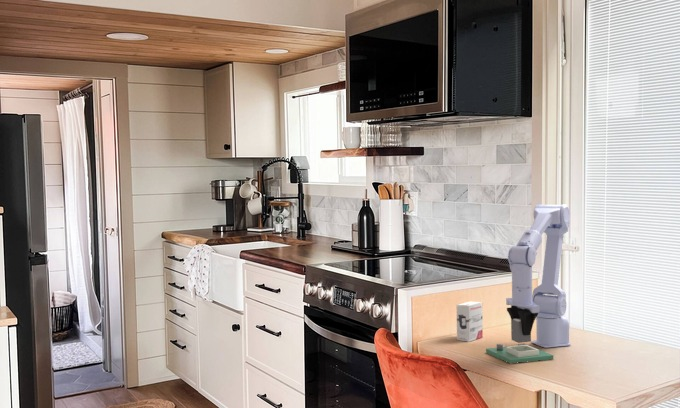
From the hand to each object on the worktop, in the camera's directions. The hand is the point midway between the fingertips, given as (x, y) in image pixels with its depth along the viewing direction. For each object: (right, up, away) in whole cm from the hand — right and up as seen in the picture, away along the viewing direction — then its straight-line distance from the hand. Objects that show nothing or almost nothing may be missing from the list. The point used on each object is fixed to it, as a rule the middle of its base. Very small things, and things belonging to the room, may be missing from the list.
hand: (522, 333), depth 200 cm
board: (0, -7, +2) cm, 7 cm away
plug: (0, -2, 0) cm, 2 cm away
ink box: (-11, -7, +25) cm, 28 cm away
